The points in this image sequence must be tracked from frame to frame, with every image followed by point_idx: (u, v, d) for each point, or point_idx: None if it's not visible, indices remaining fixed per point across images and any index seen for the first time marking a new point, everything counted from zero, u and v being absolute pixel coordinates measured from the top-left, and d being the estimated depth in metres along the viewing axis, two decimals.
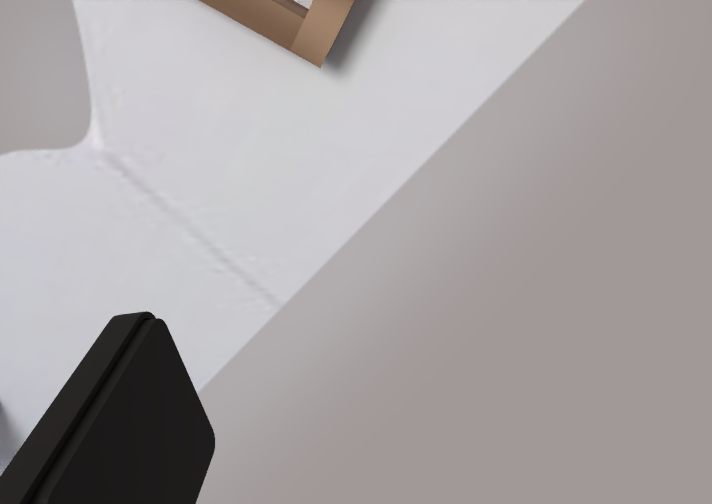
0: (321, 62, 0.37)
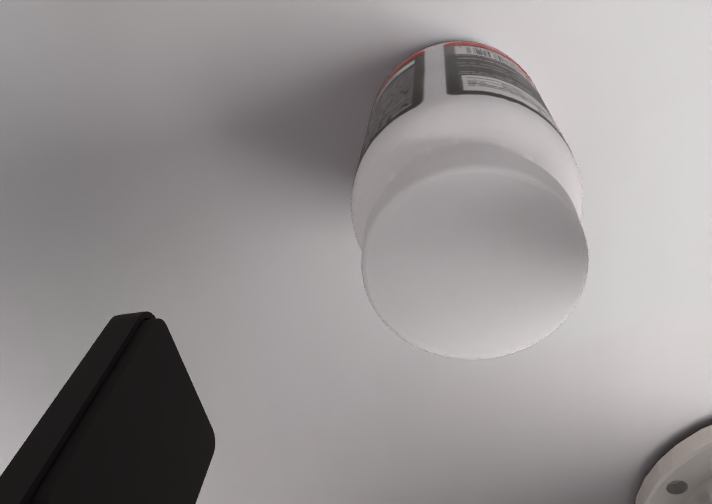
0: None
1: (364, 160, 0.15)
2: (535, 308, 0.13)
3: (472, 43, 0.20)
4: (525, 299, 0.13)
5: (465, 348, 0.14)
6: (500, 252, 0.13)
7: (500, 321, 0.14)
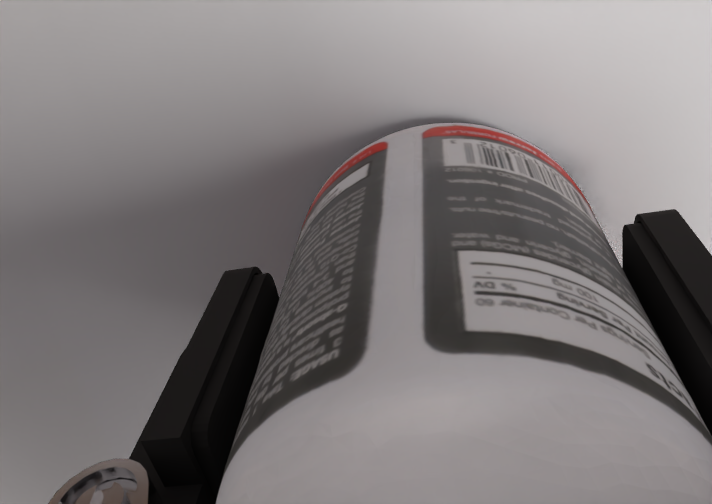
0: None
1: (226, 490, 0.06)
2: None
3: (475, 130, 0.11)
4: None
5: None
6: None
7: None
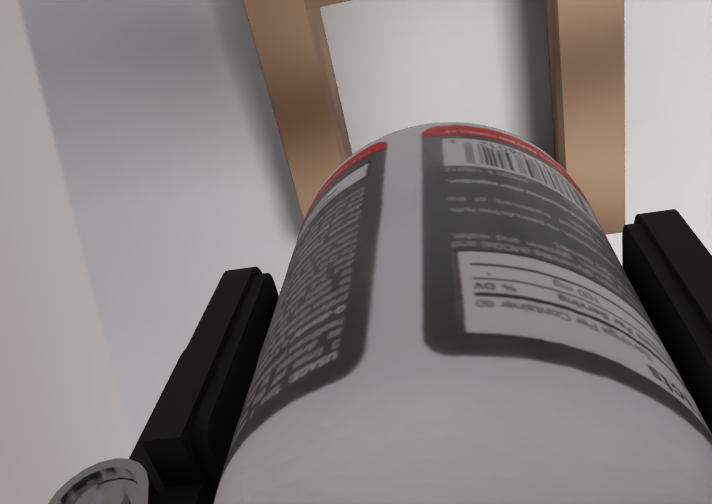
0: None
1: (223, 493, 0.06)
2: None
3: (475, 129, 0.10)
4: None
5: None
6: None
7: None
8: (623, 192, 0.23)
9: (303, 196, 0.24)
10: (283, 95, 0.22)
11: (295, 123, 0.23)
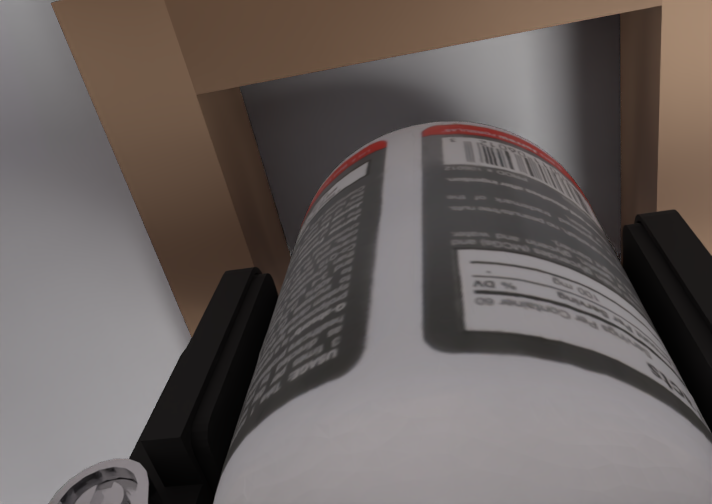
0: (63, 20, 0.11)
1: (223, 491, 0.06)
2: None
3: (475, 128, 0.11)
4: None
5: None
6: None
7: None
8: None
9: None
10: (170, 231, 0.13)
11: (195, 273, 0.14)
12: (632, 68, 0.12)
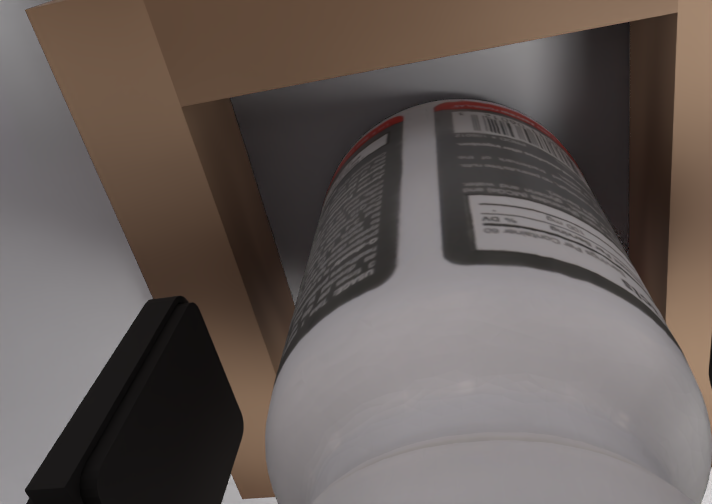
0: (38, 28, 0.10)
1: (282, 382, 0.08)
2: None
3: (480, 104, 0.12)
4: None
5: None
6: None
7: None
8: None
9: None
10: (156, 249, 0.12)
11: (182, 292, 0.13)
12: (643, 77, 0.11)
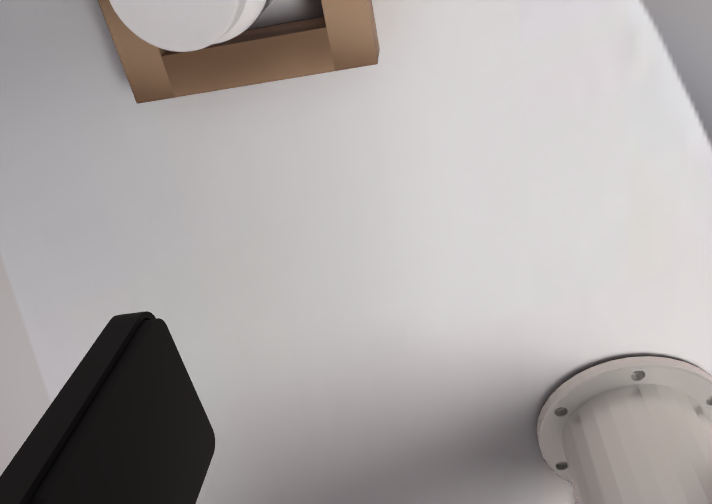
0: None
1: None
2: (213, 8, 0.21)
3: None
4: (206, 1, 0.21)
5: (178, 42, 0.22)
6: None
7: (195, 19, 0.21)
8: (370, 27, 0.28)
9: (114, 32, 0.29)
10: None
11: None
12: None
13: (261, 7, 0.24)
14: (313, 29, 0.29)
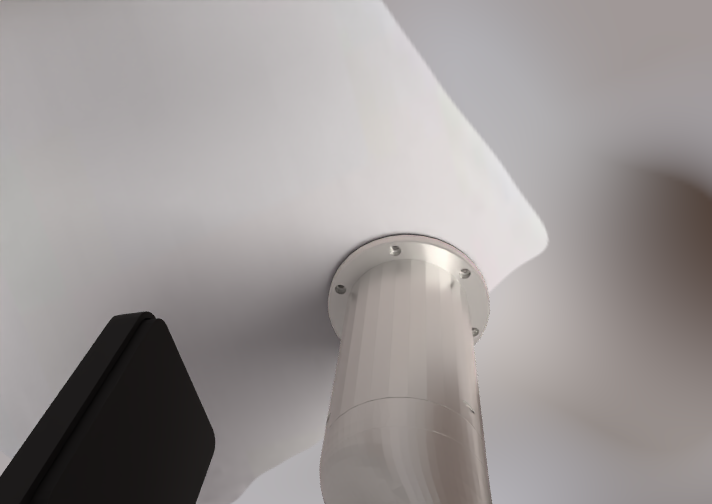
0: None
1: None
2: None
3: None
4: None
5: None
6: None
7: None
8: None
9: None
10: None
11: None
12: None
13: None
14: None
